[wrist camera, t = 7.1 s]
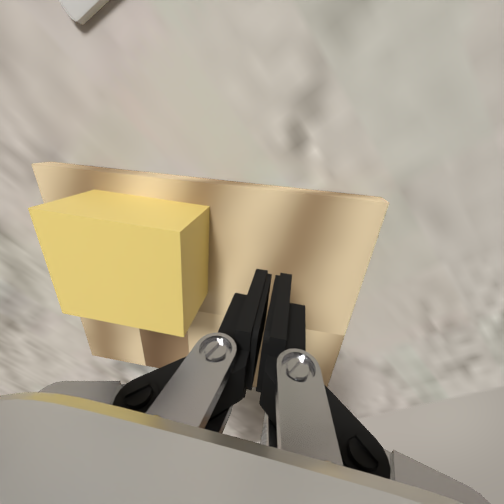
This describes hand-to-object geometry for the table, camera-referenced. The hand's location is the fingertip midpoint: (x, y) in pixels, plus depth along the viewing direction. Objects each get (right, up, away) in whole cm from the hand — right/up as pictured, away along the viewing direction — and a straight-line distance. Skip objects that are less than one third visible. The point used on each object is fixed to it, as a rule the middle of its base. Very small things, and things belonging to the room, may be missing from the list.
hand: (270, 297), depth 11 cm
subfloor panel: (-4, -1, +6) cm, 8 cm away
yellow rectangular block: (-7, +3, +4) cm, 8 cm away
